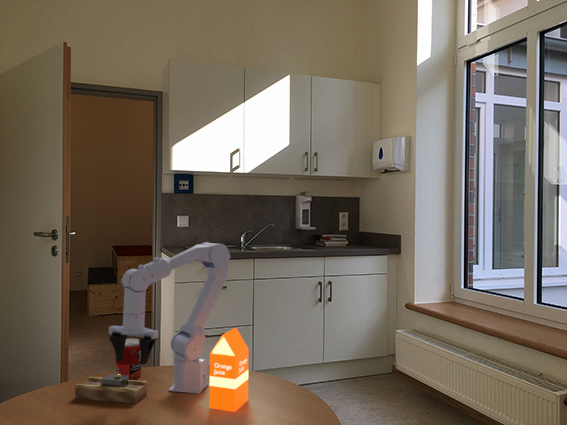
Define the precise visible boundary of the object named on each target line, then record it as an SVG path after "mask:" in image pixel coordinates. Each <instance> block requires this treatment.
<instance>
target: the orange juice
mask: <svg viewBox="0 0 567 425" xmlns="http://www.w3.org/2000/svg"><path fill="white" fill-rule="evenodd" d="M249 350H250V349H249V347H248V345H247V344H246V341H245V340H244V338H243V337H242V336H241V333H240V332H239V330H238V329H237V327H235V328H232V329H231V330H229V331H227V332H225V333H223V334H222V335H221V336H220V338H219V339H218V341H217V342H216V344H215V346H214V347H213V349H212V350H211V351H210V353H209V409H214V410H219V411H220V410H221V411H226V412H234V413H235V412H236V411H238V410H239V409H240V408H242V406H244V405H245V404H246V403H247V401H249Z"/></svg>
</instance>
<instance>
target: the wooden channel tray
mask: <svg viewBox="0 0 567 425" xmlns="http://www.w3.org/2000/svg"><path fill="white" fill-rule="evenodd" d="M102 378H103V377H99V376H88V379H87V380H86V381H84V382H83V383H76V384H75V387H74V388H75V389H74V392H75V393H74V396H75V398H74V399H79V400H89V401H90V400H91V401H98V402H110V401H111V402H110V403H121V402H125V403H124V404H132V403H133V405H135V404H136V403H137V401H138V402H139V401H140V400H142V399H143V398H144V397H145V396H147V395H148V390H147V389H148V381H147V380H135V379H130V380H129V384H128V385H127V386H125V387H124V388H121V387H109V386H101V379H102ZM146 394H147V395H146ZM141 398H142V399H141Z"/></svg>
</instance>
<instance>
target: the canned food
mask: <svg viewBox="0 0 567 425" xmlns="http://www.w3.org/2000/svg"><path fill="white" fill-rule="evenodd" d="M139 340H140V339H138V338H126V342H125V350H124V359H123V360H121V361H117V358H116V357H115V374H121V375H129V379H130V380H135V379H138V378H139V377H141V375H142V365H141V349H140V343H139Z"/></svg>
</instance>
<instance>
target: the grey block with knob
mask: <svg viewBox="0 0 567 425" xmlns="http://www.w3.org/2000/svg"><path fill="white" fill-rule="evenodd" d="M101 378H102V379H101V386H109V387H121V388H124V387H125V386H127V385H128V384H129V375H121V374H116V373H108V374H106V375H105V376H103V377H101Z"/></svg>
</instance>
